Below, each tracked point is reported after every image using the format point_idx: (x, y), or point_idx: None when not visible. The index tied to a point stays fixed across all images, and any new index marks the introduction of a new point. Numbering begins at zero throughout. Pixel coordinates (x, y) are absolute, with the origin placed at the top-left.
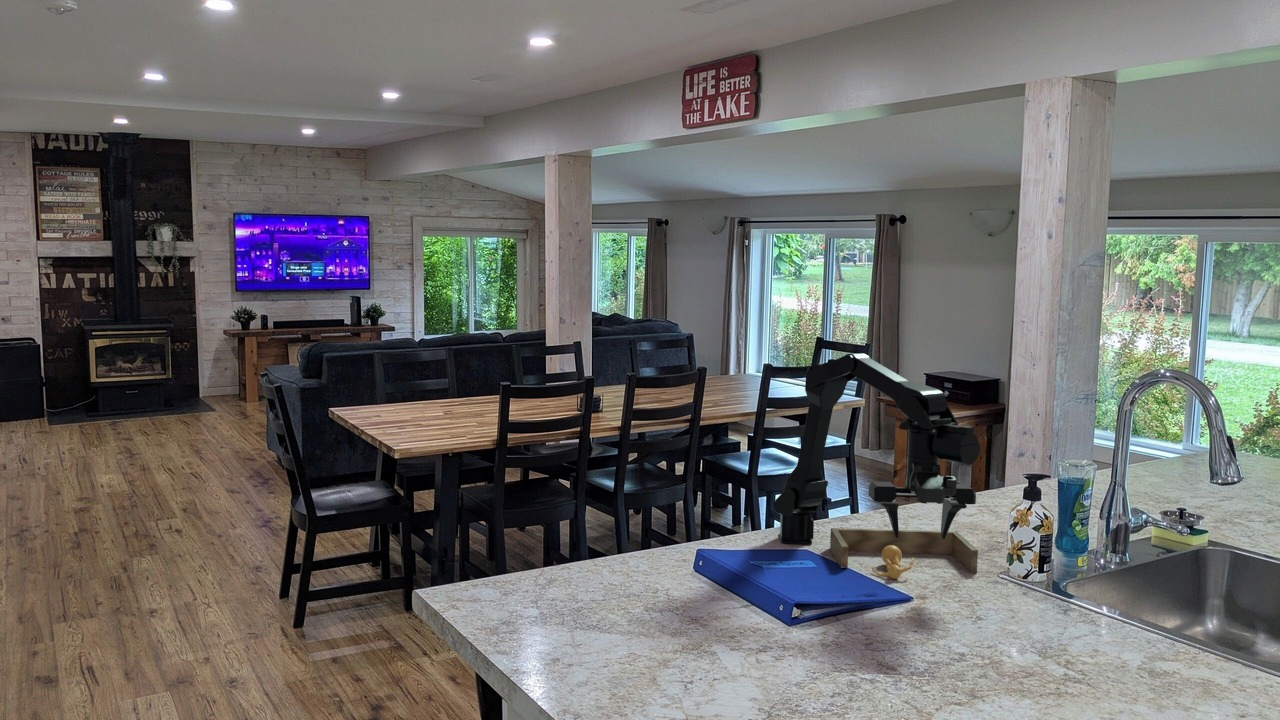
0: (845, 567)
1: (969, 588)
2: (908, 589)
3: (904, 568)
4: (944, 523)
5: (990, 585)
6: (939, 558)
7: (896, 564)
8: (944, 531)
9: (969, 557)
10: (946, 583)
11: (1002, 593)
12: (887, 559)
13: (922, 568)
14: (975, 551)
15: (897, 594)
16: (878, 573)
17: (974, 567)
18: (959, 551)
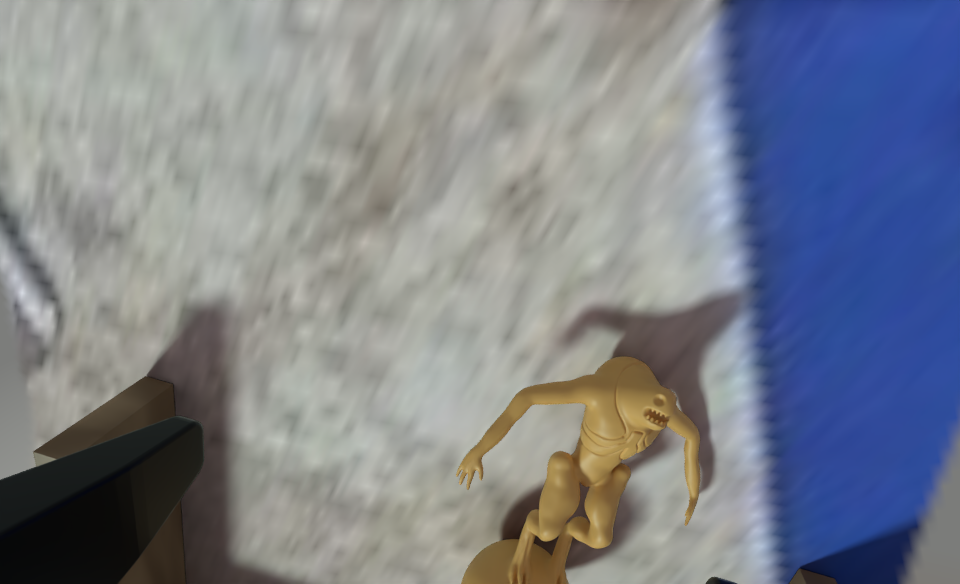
0: (815, 579)
1: (252, 145)
2: (647, 179)
3: (568, 394)
4: (5, 573)
5: (125, 181)
6: (254, 571)
7: (574, 473)
8: (113, 463)
9: None
10: (352, 252)
11: (89, 23)
12: (603, 538)
13: (382, 485)
14: (54, 450)
15: (800, 80)
16: (696, 446)
17: (136, 393)
18: (148, 563)
